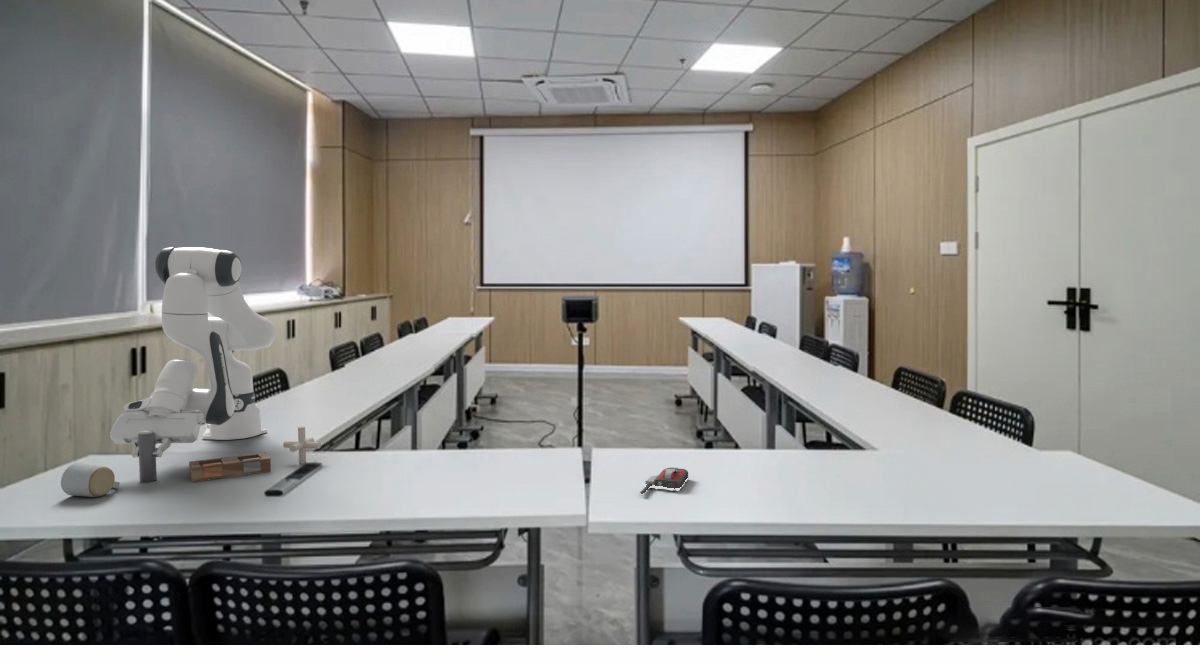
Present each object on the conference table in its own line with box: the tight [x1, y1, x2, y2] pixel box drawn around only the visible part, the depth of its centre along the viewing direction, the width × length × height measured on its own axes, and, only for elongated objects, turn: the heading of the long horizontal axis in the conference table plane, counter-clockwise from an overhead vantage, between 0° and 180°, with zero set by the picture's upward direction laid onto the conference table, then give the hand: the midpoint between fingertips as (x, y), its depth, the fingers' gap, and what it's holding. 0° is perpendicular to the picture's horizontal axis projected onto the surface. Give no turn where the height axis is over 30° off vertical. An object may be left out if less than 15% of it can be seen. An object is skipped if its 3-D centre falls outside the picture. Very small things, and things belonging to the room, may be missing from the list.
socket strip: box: [188, 451, 272, 482], centre depth 184 cm, size 8×18×4 cm, turn 125°
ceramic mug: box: [60, 461, 121, 498], centre depth 166 cm, size 11×8×8 cm
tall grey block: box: [138, 430, 158, 483], centre depth 177 cm, size 4×4×13 cm
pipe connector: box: [282, 425, 322, 464], centre depth 195 cm, size 10×10×10 cm
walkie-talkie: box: [639, 466, 689, 494], centre depth 172 cm, size 9×4×20 cm
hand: (145, 456), depth 176 cm, fingers closed on tall grey block, 4 cm apart
